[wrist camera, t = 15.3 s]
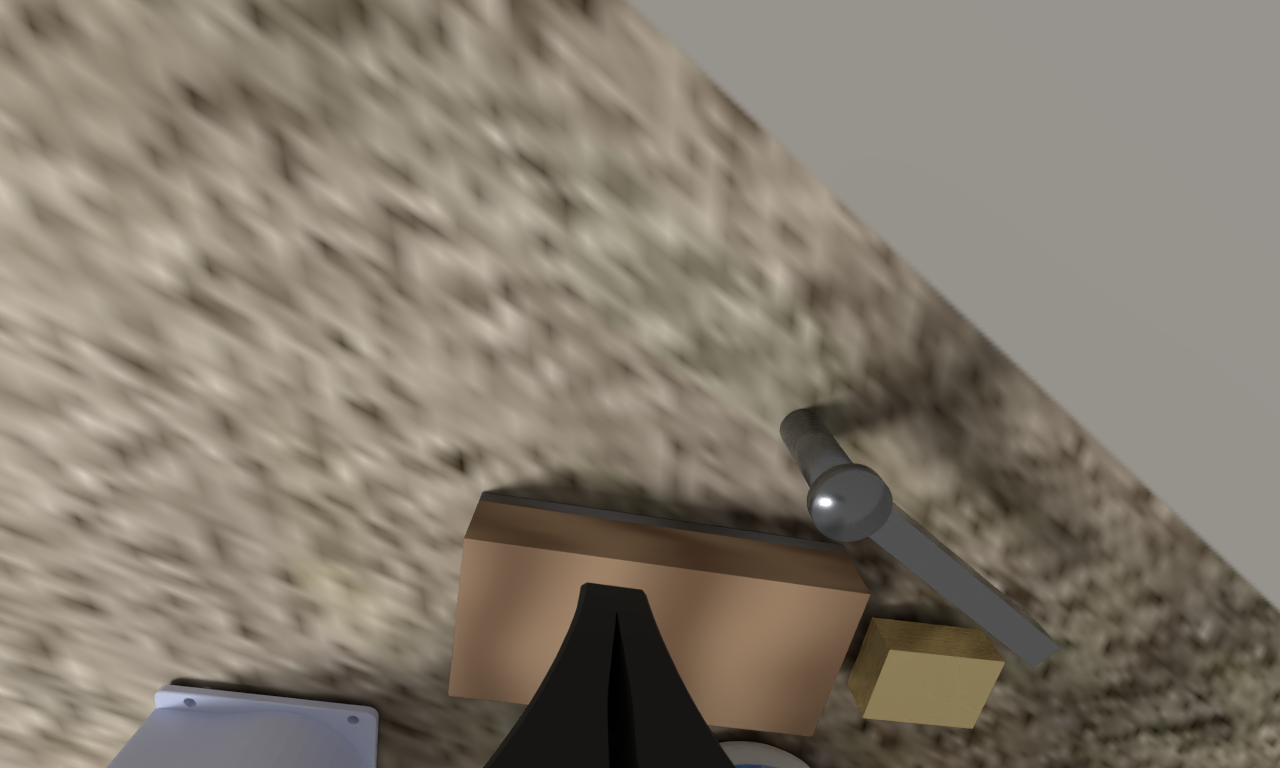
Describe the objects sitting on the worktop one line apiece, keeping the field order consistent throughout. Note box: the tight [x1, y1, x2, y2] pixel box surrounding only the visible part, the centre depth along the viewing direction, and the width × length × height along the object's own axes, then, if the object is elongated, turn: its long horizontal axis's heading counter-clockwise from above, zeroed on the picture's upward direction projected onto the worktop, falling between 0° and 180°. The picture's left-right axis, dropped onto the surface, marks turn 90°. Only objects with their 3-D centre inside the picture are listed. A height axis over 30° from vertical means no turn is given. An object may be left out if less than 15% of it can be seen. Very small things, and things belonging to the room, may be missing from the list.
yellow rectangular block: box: [848, 617, 1005, 729], centre depth 26 cm, size 5×4×2 cm
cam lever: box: [780, 410, 1060, 667], centre depth 22 cm, size 2×12×6 cm, turn 50°
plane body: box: [448, 492, 871, 737], centre depth 24 cm, size 15×8×3 cm, turn 79°
